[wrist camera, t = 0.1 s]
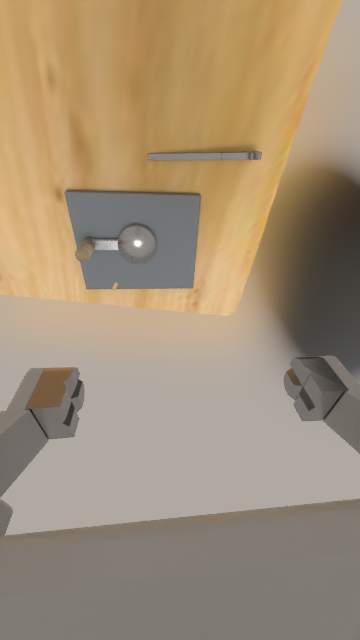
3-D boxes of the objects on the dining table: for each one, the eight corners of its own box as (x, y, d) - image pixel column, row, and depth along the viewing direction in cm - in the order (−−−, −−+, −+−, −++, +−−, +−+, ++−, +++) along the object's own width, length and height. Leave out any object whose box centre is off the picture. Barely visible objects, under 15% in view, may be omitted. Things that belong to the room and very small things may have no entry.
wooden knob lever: (155, 224, 49) (156, 235, 44) (156, 260, 54) (157, 274, 49) (79, 222, 48) (70, 234, 42) (87, 260, 53) (79, 274, 47)
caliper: (255, 150, 45) (267, 152, 40) (254, 157, 46) (266, 159, 41) (147, 153, 44) (147, 155, 39) (148, 160, 45) (147, 163, 40)
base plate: (67, 190, 46) (64, 192, 44) (199, 194, 49) (200, 196, 47) (88, 285, 59) (86, 290, 57) (191, 284, 62) (192, 289, 60)
